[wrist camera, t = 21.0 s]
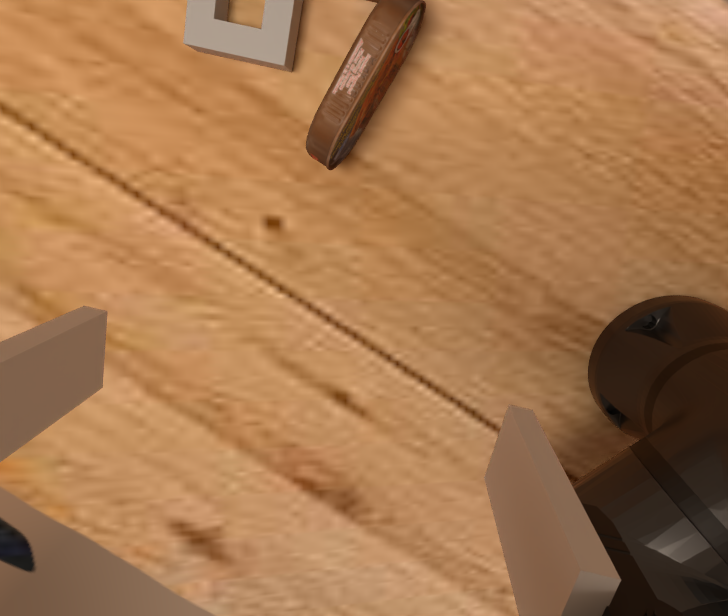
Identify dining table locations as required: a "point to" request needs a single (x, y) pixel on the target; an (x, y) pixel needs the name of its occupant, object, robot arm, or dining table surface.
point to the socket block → (245, 32)
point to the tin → (363, 79)
